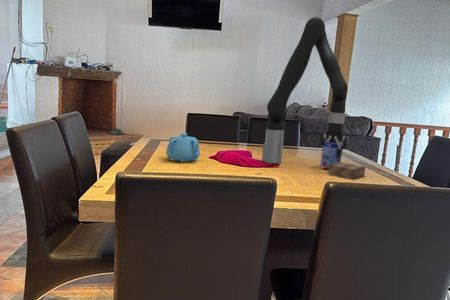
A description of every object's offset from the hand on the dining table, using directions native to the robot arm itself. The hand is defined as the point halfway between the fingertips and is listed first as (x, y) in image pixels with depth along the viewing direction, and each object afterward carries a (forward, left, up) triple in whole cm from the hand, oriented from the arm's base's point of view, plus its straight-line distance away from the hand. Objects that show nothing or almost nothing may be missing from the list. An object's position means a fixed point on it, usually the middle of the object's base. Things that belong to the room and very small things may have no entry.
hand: (332, 155), depth 193 cm
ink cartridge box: (0, 0, -6) cm, 6 cm away
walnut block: (+11, -10, -7) cm, 17 cm away
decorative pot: (-59, -45, -7) cm, 74 cm away
